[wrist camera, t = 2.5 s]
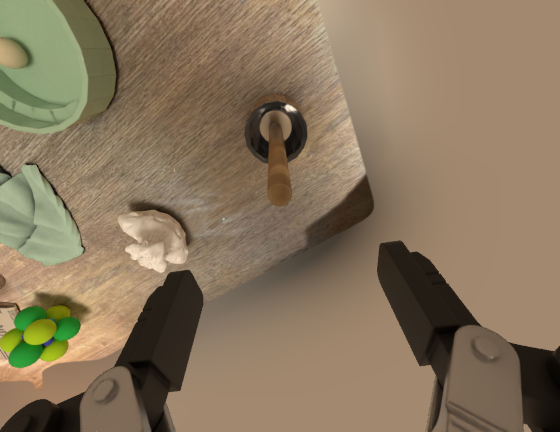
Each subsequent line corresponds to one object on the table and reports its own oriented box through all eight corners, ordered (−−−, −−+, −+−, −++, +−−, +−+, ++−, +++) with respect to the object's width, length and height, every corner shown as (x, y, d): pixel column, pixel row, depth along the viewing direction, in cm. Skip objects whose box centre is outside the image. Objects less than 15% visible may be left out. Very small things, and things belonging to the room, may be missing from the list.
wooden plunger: (288, 104, 30) (308, 166, 14) (292, 136, 32) (314, 221, 16) (257, 110, 31) (241, 177, 14) (263, 141, 33) (255, 229, 16)
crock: (298, 88, 30) (303, 95, 25) (304, 143, 34) (309, 159, 29) (243, 98, 30) (237, 107, 25) (255, 152, 34) (252, 169, 29)
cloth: (58, 274, 47) (49, 284, 45) (-90, 198, 37) (-111, 206, 35) (119, 221, 40) (111, 230, 38) (-40, 110, 30) (-62, 115, 28)
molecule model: (46, 337, 53) (64, 363, 49) (-10, 345, 45) (7, 376, 41) (69, 300, 54) (89, 323, 50) (18, 302, 46) (38, 329, 42)
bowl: (63, -66, 22) (3, -100, 17) (142, 109, 31) (118, 120, 26) (-83, -31, 23) (-181, -54, 18) (33, 129, 32) (-11, 144, 27)
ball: (21, 35, 25) (-3, 33, 23) (40, 65, 27) (19, 67, 25) (-3, 40, 26) (-30, 39, 23) (18, 70, 27) (-6, 72, 25)
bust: (197, 235, 45) (213, 250, 36) (168, 268, 43) (177, 293, 34) (141, 192, 40) (142, 196, 30) (105, 227, 38) (94, 243, 28)
